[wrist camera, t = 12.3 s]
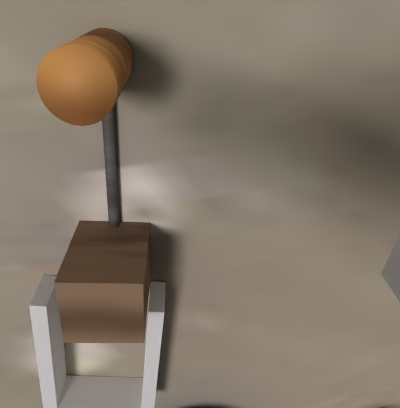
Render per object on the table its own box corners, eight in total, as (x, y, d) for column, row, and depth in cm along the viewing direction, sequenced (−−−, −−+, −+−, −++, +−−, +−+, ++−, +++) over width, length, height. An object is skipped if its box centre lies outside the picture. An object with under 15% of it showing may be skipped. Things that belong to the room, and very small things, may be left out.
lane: (43, 274, 40) (29, 305, 37) (165, 282, 42) (164, 312, 38) (54, 382, 50) (44, 416, 46) (154, 385, 51) (152, 418, 47)
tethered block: (57, 25, 28) (5, 41, 20) (150, 31, 29) (138, 50, 20) (85, 274, 41) (61, 352, 32) (150, 275, 41) (143, 352, 33)
